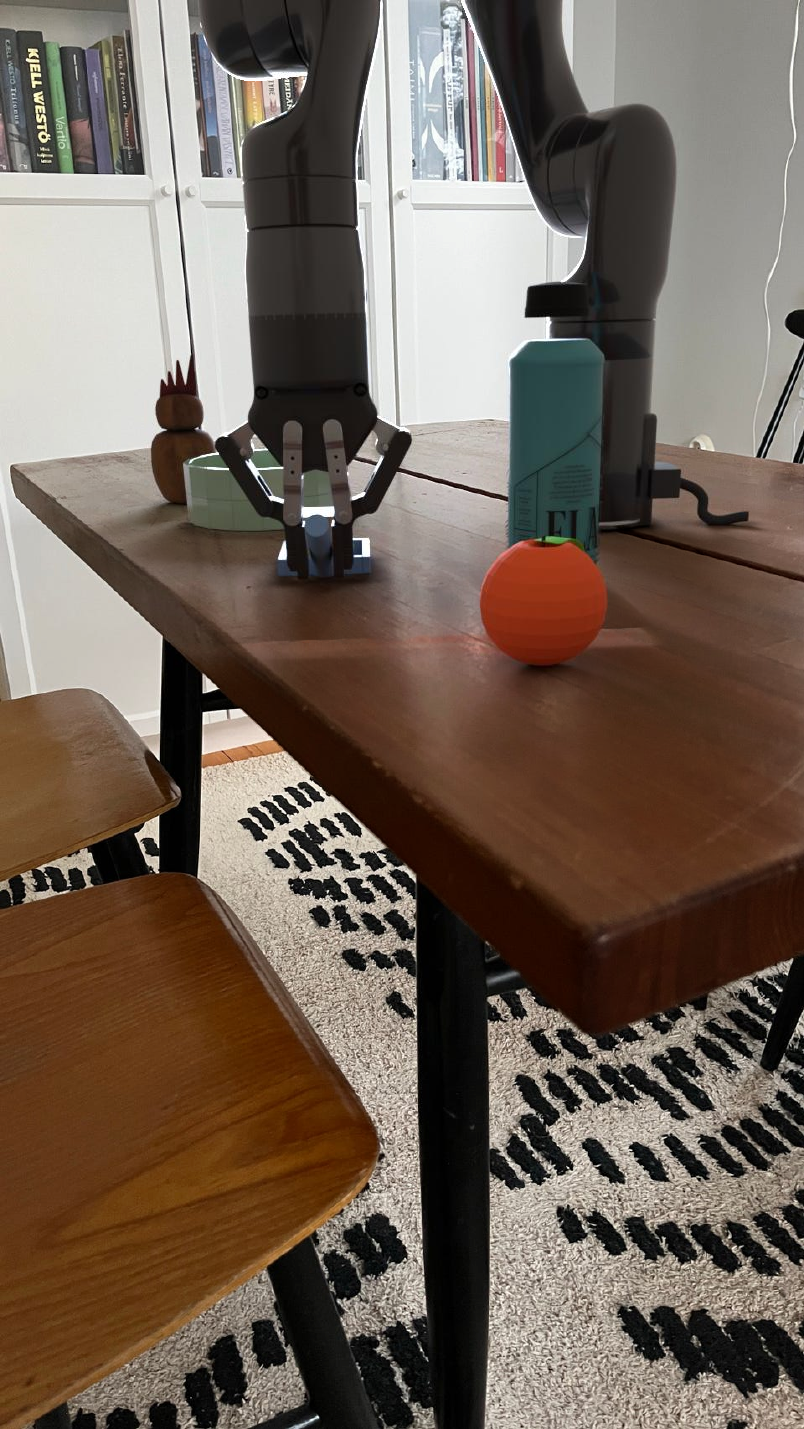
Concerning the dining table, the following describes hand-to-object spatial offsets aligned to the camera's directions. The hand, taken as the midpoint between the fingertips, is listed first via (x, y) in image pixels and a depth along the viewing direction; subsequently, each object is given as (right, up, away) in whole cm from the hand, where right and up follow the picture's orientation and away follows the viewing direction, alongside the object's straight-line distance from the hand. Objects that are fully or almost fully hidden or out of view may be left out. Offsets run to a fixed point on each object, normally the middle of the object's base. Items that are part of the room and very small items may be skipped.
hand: (322, 575), depth 73 cm
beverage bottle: (+16, -1, +1) cm, 16 cm away
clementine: (+14, -7, -14) cm, 21 cm away
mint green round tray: (-7, +9, +28) cm, 31 cm away
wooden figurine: (-18, +13, +41) cm, 47 cm away
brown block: (0, +2, +8) cm, 8 cm away
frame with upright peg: (0, 0, +4) cm, 4 cm away
